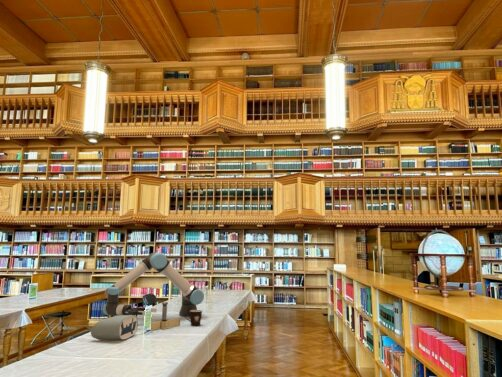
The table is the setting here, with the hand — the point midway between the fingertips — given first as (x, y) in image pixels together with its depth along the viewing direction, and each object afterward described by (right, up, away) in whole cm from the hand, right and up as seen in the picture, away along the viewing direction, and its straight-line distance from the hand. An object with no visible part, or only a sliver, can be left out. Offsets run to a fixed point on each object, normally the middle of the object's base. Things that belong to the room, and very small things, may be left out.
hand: (151, 311), depth 261 cm
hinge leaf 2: (+13, -11, 0) cm, 17 cm away
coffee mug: (+28, -12, +7) cm, 31 cm away
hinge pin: (+9, -10, -4) cm, 14 cm away
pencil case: (-15, -6, -32) cm, 35 cm away
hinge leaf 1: (+6, -9, -7) cm, 13 cm away
